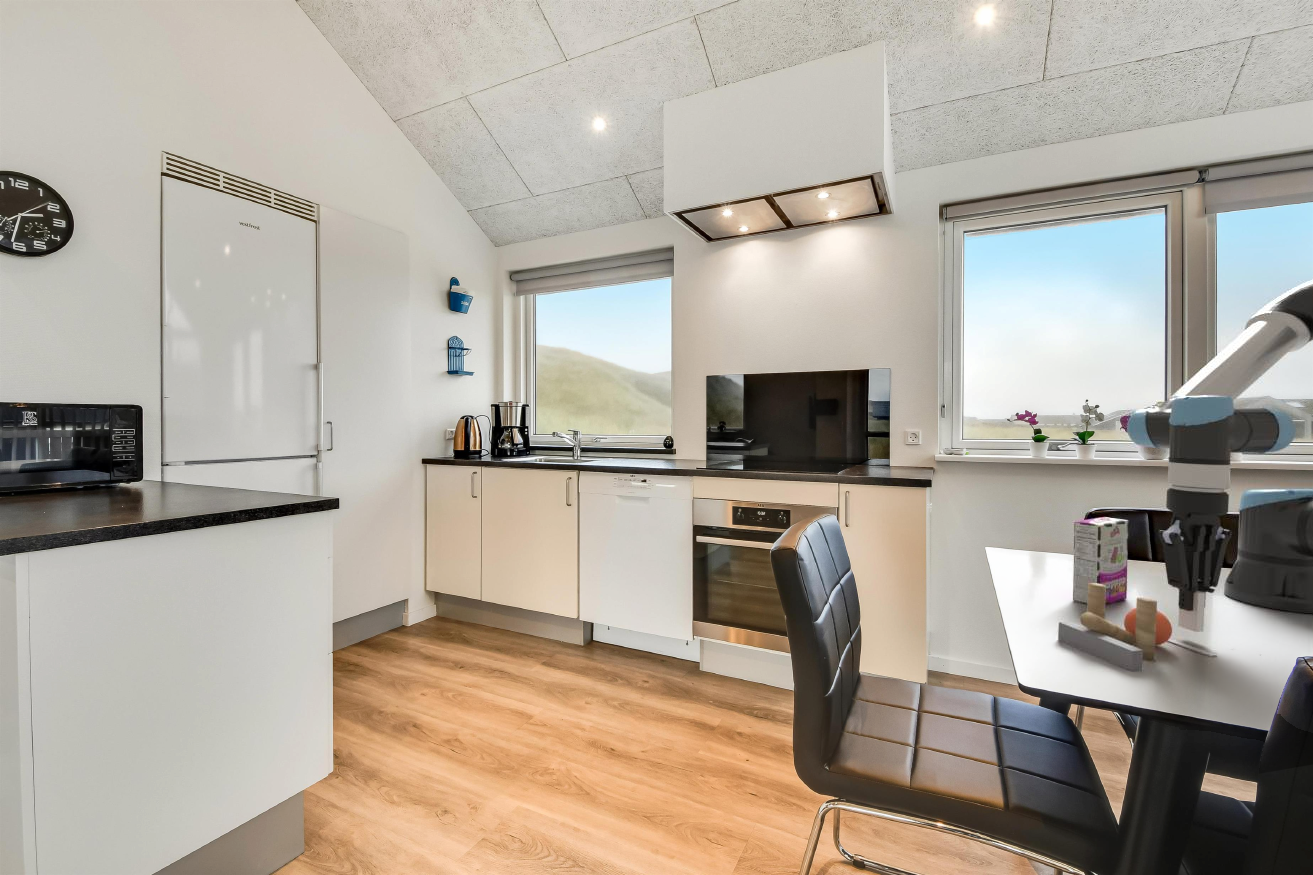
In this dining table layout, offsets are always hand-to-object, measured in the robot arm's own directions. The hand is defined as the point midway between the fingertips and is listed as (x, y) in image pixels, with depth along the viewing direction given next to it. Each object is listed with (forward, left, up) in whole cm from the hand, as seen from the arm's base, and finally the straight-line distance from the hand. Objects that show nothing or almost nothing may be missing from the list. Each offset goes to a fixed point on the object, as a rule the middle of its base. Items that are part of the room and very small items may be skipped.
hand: (1190, 628), depth 96 cm
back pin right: (+15, -4, -2) cm, 16 cm away
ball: (+9, 0, +1) cm, 9 cm away
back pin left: (+15, +4, -2) cm, 16 cm away
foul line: (+4, 0, -2) cm, 4 cm away
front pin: (+13, 0, -1) cm, 13 cm away
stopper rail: (+21, +2, -2) cm, 21 cm away
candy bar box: (-5, -20, -2) cm, 21 cm away
